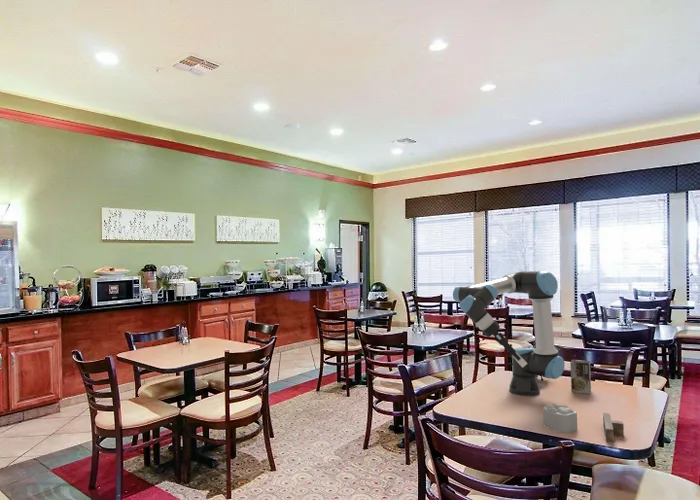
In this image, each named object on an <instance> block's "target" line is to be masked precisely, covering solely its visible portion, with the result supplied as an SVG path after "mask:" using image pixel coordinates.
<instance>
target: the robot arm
mask: <svg viewBox="0 0 700 500" xmlns="http://www.w3.org/2000/svg"><path fill="white" fill-rule="evenodd" d="M558 285H559V284H558V281H557V278H556V276H555V275H554V274H553V273H552V272H549V271H543V270H541V271H540V270H535V271H534V270H533V271H530V270H529V271H528V270H522V271H518V272H512V273H510V274H506V275H504V276H502V277H501V278H499V279H494V280H490V281H485V282H481V283H476V284H473V285H469V286H457V287H455V288H454V289H453V291H452V297H453V300H454V301H455V302H456V303H457V302H458V303H459V304H458V307H459V308H460V309H461V311H463V313H464V314H465V315H466V316H467V317H468V318H469V319H470V320H471V321H472V322H473V323H474V325H475V328H478V329H479V330H480V331H482V333H483V334H484V335H485V336H486V337H487V338H490V337H492V336H494V337H493V340H495V342H497V343H498V344H499V345H500V346H502V347H504V349H505V350H506V351H507V352H508V353H509V355H508V356H509V357H510V358H511V365H512V366H511V367H512V368H511V369H512V377H511V380H510V383H509V389H508V390H509V392H510V393H512V394H514V395H519V396H526V397H527V396H528V397H531V396H533V397H534V396H538V395H540V394H541V388H540V386H539V382H538V381H537V378H536V375H538V377H541V376H542V378H546V379H550V380H551V379H552V380H556V379H558V378H560V377H561V376H562V375H563V373H564V370H565V367H566V366H565V359H564V358H563V357H562V356H560V355H559V350H558V349H557V348H556V347H555V339H554V338H555V337H554V328H553V327H554V326H553V317H552V315H553V314H552V305H551V304H552V303H551V301H552V300H553V299H554V295H555V294H556V293H557V291H558V289H559V288H558V287H559V286H558ZM505 293H506V294H527V295H528V299H529V300H530V301H531V302H532V316H533V324H534V325H533V327H534V337H535V338H534V341H535V340H536V344H535V345H536V348H533V347H518V348H514V347H513V344H512V343H509V342H508V339H506V337H505V336H504V335H503V334H502V332H498V331H499V329H500V328H501V326H500V324H499V323H498V322H497V320H496V321H495V320H494V318H493V317H492V315H490V313H488V312H487V310H486V308H488V306H490V305H491V304H492V303H493V302H494V301H495V299H497V298H498V295H501V294H505Z"/></svg>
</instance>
